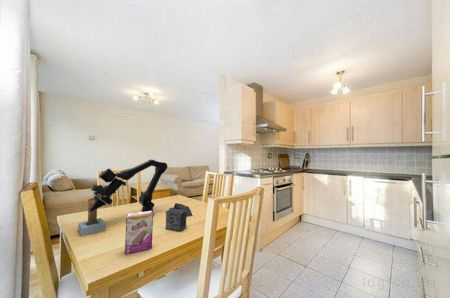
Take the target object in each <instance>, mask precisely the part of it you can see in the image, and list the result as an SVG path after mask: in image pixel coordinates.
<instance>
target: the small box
mask: <svg viewBox="0 0 450 298" xmlns="http://www.w3.org/2000/svg"><path fill="white" fill-rule="evenodd" d="M186 211H187V210H180V209H168V210H166V211H165V230H168V231H174V232H178V233H179V232H180V233H182V231H184V230H185V229H186V228H187V216H186Z"/></svg>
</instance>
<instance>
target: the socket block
mask: <svg viewBox="0 0 450 298" xmlns="http://www.w3.org/2000/svg"><path fill="white" fill-rule="evenodd" d="M77 231H78V232H79V234H80V236H81V237H85V236H89V235H91V234H92V235H93V234H97V233H100V232H103V231H106V222H105V221H104V219H102V218H101V217H100V218H97V221H95V222H91V223H88V220H87V221H82V222H78V230H77Z"/></svg>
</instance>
